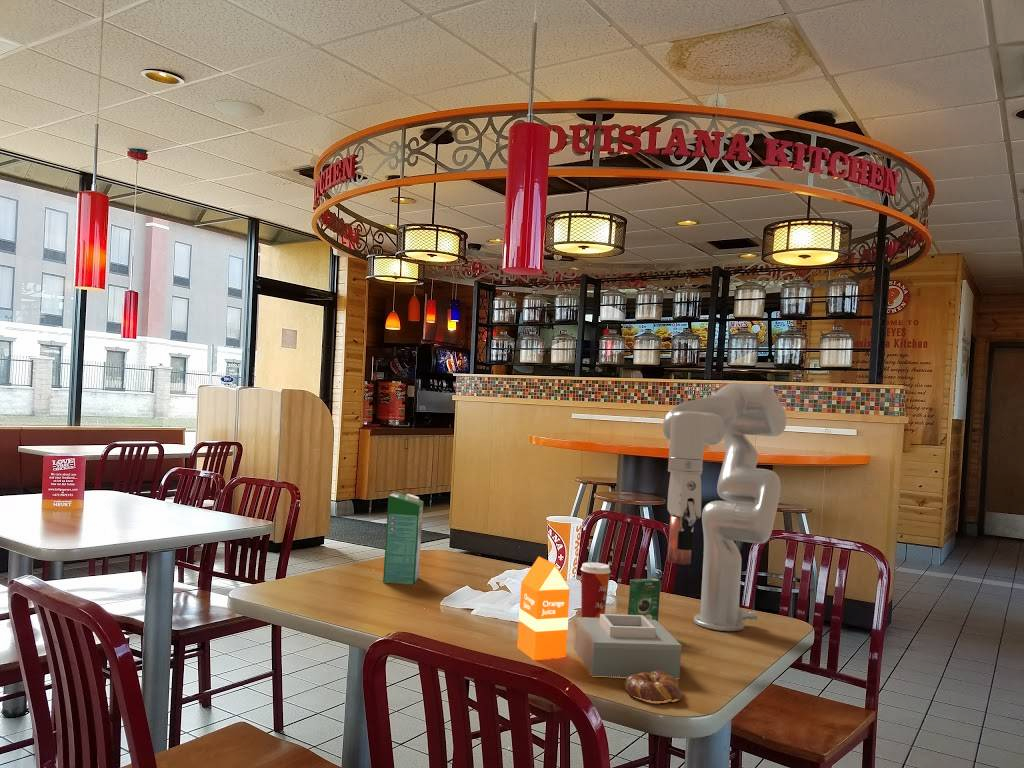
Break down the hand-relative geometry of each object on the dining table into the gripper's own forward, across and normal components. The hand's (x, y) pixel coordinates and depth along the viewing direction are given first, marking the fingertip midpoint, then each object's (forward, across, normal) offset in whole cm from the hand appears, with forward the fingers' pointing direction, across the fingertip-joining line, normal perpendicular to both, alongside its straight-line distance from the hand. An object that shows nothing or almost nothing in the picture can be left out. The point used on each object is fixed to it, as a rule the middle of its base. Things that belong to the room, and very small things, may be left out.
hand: (680, 546), depth 178 cm
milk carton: (+24, +61, +62) cm, 90 cm away
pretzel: (+25, -24, +12) cm, 37 cm away
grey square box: (+24, -8, +13) cm, 29 cm away
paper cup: (+24, +24, +13) cm, 36 cm away
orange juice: (+24, -2, +30) cm, 39 cm away
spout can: (+3, 0, 0) cm, 3 cm away
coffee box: (+24, +14, +3) cm, 28 cm away
